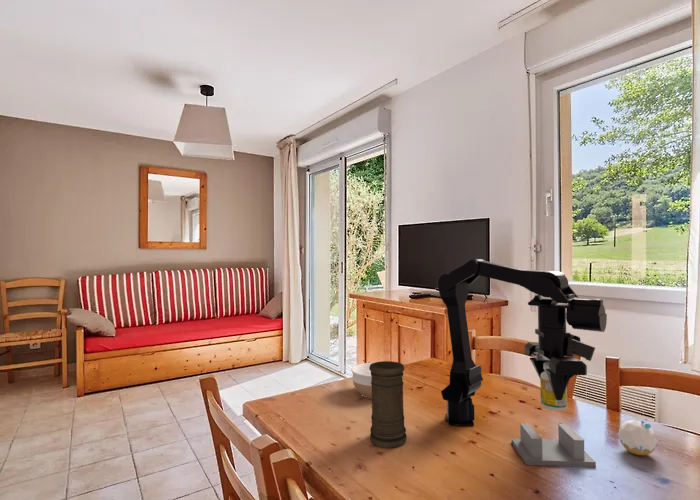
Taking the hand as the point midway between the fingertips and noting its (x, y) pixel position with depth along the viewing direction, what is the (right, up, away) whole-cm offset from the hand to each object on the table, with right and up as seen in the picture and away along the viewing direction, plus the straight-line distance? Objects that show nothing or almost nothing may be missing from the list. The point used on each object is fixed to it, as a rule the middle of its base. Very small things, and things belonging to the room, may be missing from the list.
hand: (553, 395), depth 91 cm
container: (-37, -13, +7) cm, 40 cm away
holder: (-1, -12, -2) cm, 13 cm away
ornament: (+17, -12, -2) cm, 22 cm away
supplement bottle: (0, -3, 0) cm, 3 cm away
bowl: (-38, -14, +40) cm, 56 cm away
